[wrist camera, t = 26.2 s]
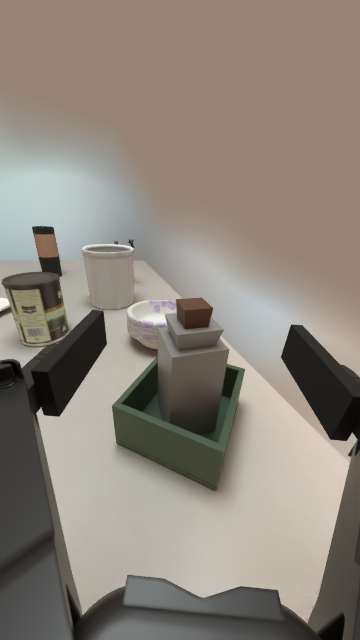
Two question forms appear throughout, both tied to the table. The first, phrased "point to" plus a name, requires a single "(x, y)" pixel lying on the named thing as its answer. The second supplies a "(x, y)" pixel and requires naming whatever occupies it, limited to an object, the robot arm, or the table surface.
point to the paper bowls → (148, 320)
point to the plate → (4, 304)
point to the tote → (175, 428)
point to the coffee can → (37, 307)
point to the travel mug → (47, 249)
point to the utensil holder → (110, 275)
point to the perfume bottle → (191, 367)
